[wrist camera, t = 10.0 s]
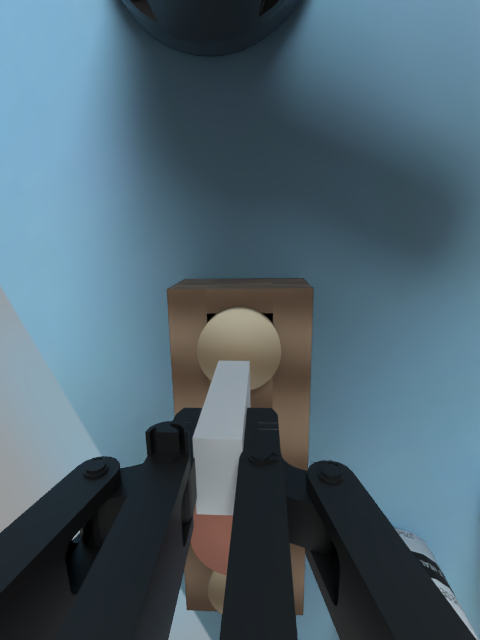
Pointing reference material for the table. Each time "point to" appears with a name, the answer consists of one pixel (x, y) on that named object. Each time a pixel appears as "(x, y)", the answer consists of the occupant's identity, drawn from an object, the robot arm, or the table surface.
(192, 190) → the table surface
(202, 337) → the maple plug
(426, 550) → the supplement can
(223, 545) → the brick-red plug
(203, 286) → the socket board
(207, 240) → the table surface
